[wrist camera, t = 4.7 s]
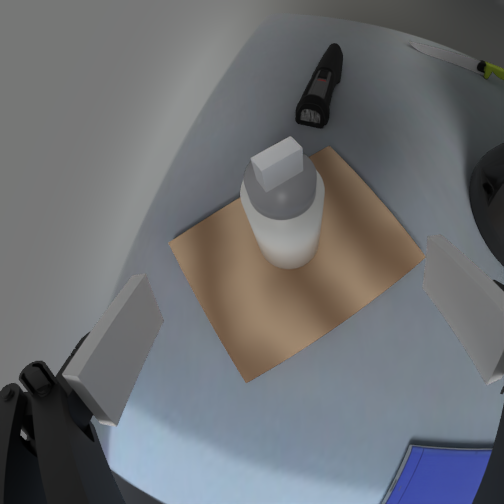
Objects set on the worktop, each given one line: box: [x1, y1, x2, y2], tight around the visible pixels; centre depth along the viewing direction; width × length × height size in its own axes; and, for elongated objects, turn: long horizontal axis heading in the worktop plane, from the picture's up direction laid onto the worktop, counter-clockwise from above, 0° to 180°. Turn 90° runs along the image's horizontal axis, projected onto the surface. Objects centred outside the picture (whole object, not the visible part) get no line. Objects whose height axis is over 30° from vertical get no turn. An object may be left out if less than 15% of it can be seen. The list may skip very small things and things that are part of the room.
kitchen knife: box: [409, 41, 504, 80], centre depth 29 cm, size 22×1×3 cm, turn 73°
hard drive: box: [381, 445, 493, 504], centre depth 15 cm, size 2×8×12 cm
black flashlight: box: [295, 43, 343, 129], centre depth 31 cm, size 4×16×3 cm, turn 158°
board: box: [169, 146, 425, 383], centre depth 25 cm, size 18×14×1 cm
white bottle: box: [240, 136, 325, 269], centre depth 19 cm, size 5×5×12 cm
